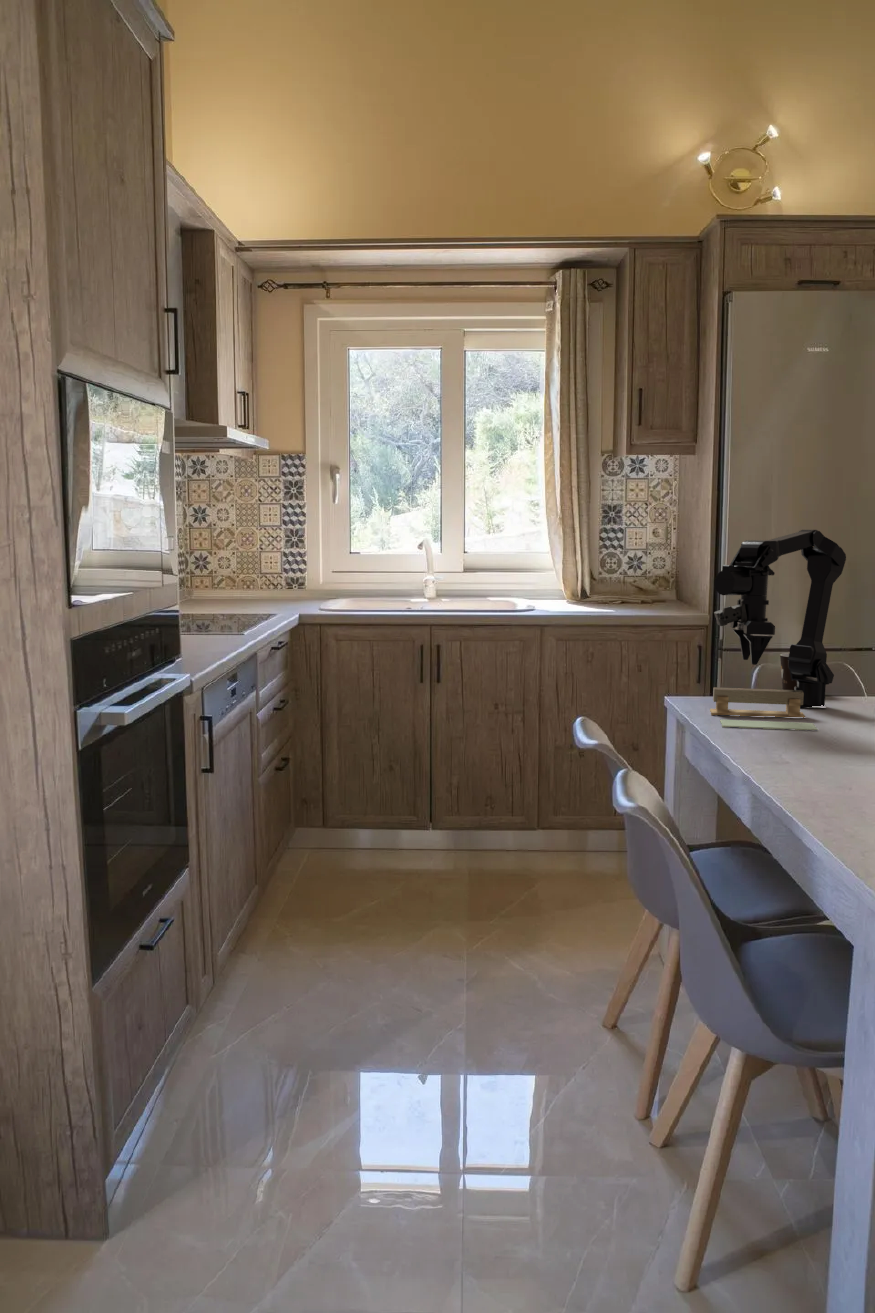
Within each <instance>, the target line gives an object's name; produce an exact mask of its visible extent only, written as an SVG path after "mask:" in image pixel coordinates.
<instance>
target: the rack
mask: <svg viewBox="0 0 875 1313" xmlns="http://www.w3.org/2000/svg"><path fill="white" fill-rule="evenodd" d="M709 712H711V713H710V715H711V716H713V715H740V716H775V717H803V718H804V717H806V718H807V716H806V715H805V713H804V712H802V711H801V708H800V699H789V705H785V711H784V710H783V711H782V710H760V709H759V710H758V709H757V710H754V709H735V708H734V709H733V708H732V709H729V702H728V697H719V696H718V699H717V702H715V708H709Z"/></svg>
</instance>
